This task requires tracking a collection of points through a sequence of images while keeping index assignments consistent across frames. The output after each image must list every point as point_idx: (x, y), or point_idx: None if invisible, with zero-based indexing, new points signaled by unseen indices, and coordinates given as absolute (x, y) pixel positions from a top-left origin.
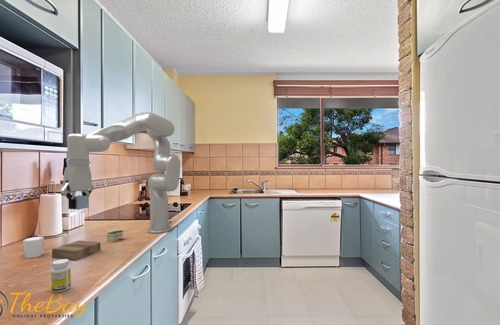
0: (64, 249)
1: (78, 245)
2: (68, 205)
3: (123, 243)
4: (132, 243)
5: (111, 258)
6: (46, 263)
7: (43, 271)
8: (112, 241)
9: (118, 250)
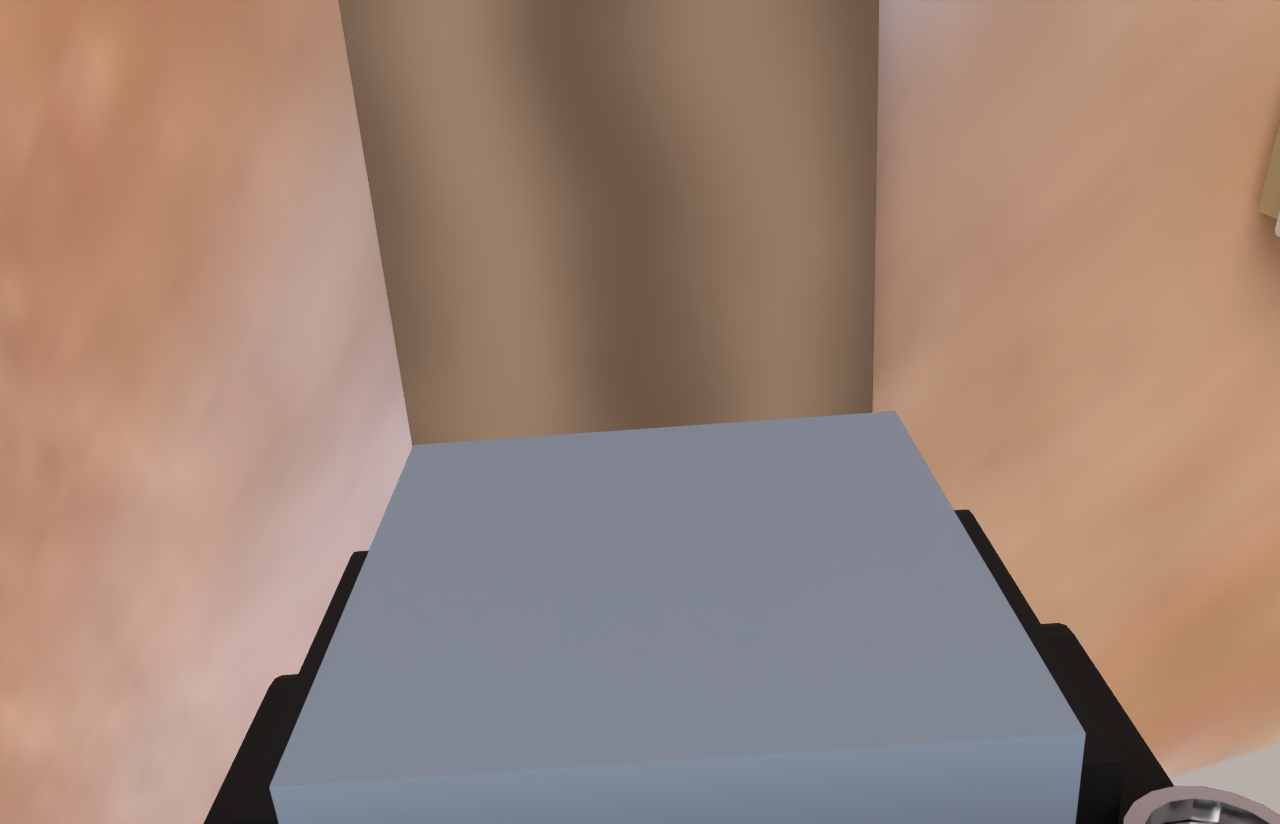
0: (414, 234)
1: (642, 254)
2: (386, 512)
3: (1226, 428)
4: (1242, 546)
5: None
6: (210, 152)
7: (60, 394)
8: (1276, 213)
9: None
